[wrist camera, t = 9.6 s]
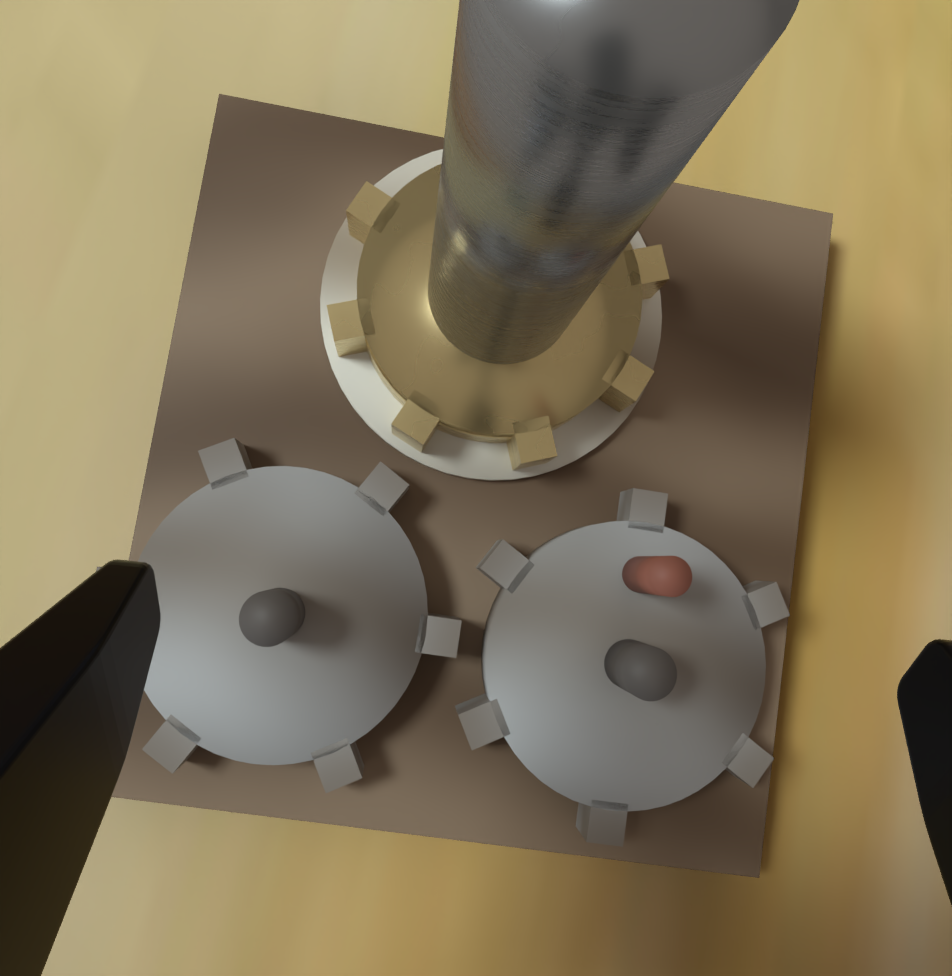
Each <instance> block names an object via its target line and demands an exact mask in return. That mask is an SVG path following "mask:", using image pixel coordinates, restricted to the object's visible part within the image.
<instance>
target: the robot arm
mask: <svg viewBox="0 0 952 976" xmlns="http://www.w3.org/2000/svg"><path fill="white" fill-rule="evenodd" d="M160 621H161V613H160V606H159V600H158V593H157V587H156V580H155V574H154V570H153V568H152V566H151V565H150V564H148V563H146V562H137V561H127V560H113V561H110V562H108V563H107V564H105V565H104V566H103V567H101V568H100V569H99V570H98V571H96V572H95V573H94V574H93V575H91V576H90V577H89V578H88V579H86V580H85V581H84V582H83V583H81V584H80V585H79V586H77V587H76V588H75V589H74V590H72V591H71V592H70V593H69V594H67V595H66V596H65V597H64V598H62V599H61V600H60V601H59V602H57V603H56V604H55V605H54V606H52V607H51V608H50V609H49V610H47V611H46V612H45V613H44V614H42V615H41V616H40V617H39V618H37V619H36V620H35V621H34V622H32V623H31V624H30V625H29V626H27V627H26V628H25V629H24V630H22V631H21V632H20V633H19V634H17V635H16V636H15V637H14V638H12V639H11V640H10V641H9V642H7V643H6V644H5V645H3V646H2V647H1V648H0V976H41V974H42V971H43V969H44V966H45V964H46V961H47V959H48V956H49V954H50V951H51V949H52V946H53V944H54V941H55V938H56V936H57V933H58V931H59V928H60V926H61V923H62V921H63V918H64V916H65V913H66V910H67V908H68V905H69V903H70V900H71V898H72V895H73V893H74V890H75V888H76V885H77V883H78V880H79V877H80V875H81V872H82V870H83V867H84V865H85V862H86V860H87V857H88V855H89V852H90V849H91V847H92V844H93V842H94V839H95V837H96V834H97V832H98V829H99V827H100V824H101V822H102V819H103V816H104V814H105V811H106V809H107V806H108V804H109V801H110V799H111V796H112V794H113V791H114V789H115V786H116V783H117V781H118V778H119V775H120V773H121V770H122V767H123V764H124V761H125V758H126V755H127V751H128V748H129V744H130V741H131V737H132V733H133V729H134V726H135V722H136V718H137V714H138V710H139V707H140V703H141V699H142V695H143V691H144V688H145V684H146V680H147V676H148V672H149V669H150V665H151V661H152V657H153V653H154V650H155V646H156V642H157V638H158V634H159V629H160ZM897 699H898V705H899V710H900V714H901V719H902V723H903V728H904V733H905V737H906V742H907V746H908V751H909V756H910V760H911V765H912V769H913V774H914V778H915V783H916V788H917V792H918V797H919V801H920V805H921V809H922V813H923V817H924V821H925V825H926V828H927V831H928V835H929V838H930V841H931V844H932V847H933V850H934V853H935V856H936V859H937V863H938V866H939V869H940V872H941V875H942V878H943V881H944V884H945V887H946V890H947V893H948V896H949V899H950V902H951V905H952V641H951V640H941V639H938V640H934V641H932V642H930V643H928V644H927V645H926V646H925V648H924V649H923V650H922V652H921V653H920V654H919V656H918V657H917V658H916V660H915V661H914V662H913V664H912V665H911V666H910V668H909V669H908V670H907V672H906V673H905V674H904V676H903V677H902V679H901V680H900V683H899V685H898V691H897Z"/></svg>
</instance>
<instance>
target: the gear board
mask: <svg viewBox="0 0 952 976" xmlns="http://www.w3.org/2000/svg"><path fill="white" fill-rule="evenodd" d="M443 145H444V138H443V137H438V136H433V135H427V134H422V133H417V132H412V131H407V130H402V129H397V128H392V127H386V126H381V125H376V124H371V123H366V122H361V121H356V120H351V119H345V118H340V117H335V116H330V115H325V114H320V113H315V112H310V111H304V110H299V109H294V108H289V107H284V106H279V105H274V104H269V103H263V102H258V101H253V100H248V99H243V98H238V97H233V96H228V95H222V94H219V98H218V103H217V108H216V113H215V118H214V123H213V129H212V134H211V139H210V144H209V149H208V154H207V160H206V165H205V170H204V175H203V180H202V185H201V191H200V196H199V201H198V206H197V211H196V216H195V221H194V227H193V232H192V237H191V242H190V247H189V252H188V258H187V263H186V268H185V273H184V278H183V283H182V289H181V294H180V299H179V304H178V309H177V314H176V319H175V325H174V330H173V335H172V340H171V345H170V350H169V356H168V361H167V366H166V371H165V376H164V381H163V387H162V392H161V397H160V402H159V407H158V412H157V417H156V423H155V428H154V433H153V438H152V443H151V448H150V454H149V459H148V464H147V469H146V474H145V479H144V484H143V490H142V495H141V500H140V505H139V510H138V515H137V521H136V526H135V531H134V536H133V541H132V546H131V552H130V557H129V561H137V562H146V563H148V564H150V565H151V566H152V568H153V570H154V574H155V580H156V587H157V593H158V600H159V606H160V613H161V621H160V629H159V634H158V638H157V642H156V646H155V650H154V653H153V657H152V661H151V665H150V669H149V672H148V676H147V680H146V684H145V688H144V691H143V695H142V699H141V703H140V707H139V710H138V714H137V718H136V722H135V726H134V729H133V733H132V737H131V741H130V744H129V748H128V751H127V755H126V758H125V761H124V764H123V767H122V770H121V773H120V775H119V778H118V781H117V783H116V786H115V789H114V791H113V794H112V796H111V797H116V798H124V799H132V800H140V801H148V802H156V803H164V804H172V805H180V806H188V807H196V808H204V809H212V810H220V811H228V812H236V813H244V814H252V815H260V816H268V817H276V818H284V819H292V820H300V821H308V822H316V823H324V824H332V825H340V826H348V827H356V828H364V829H372V830H380V831H388V832H396V833H404V834H412V835H420V836H428V837H436V838H444V839H452V840H460V841H468V842H476V843H484V844H493V845H501V846H509V847H517V848H525V849H533V850H541V851H549V852H557V853H565V854H573V855H581V856H589V857H597V858H605V859H613V860H621V861H629V862H637V863H645V864H653V865H661V866H669V867H677V868H685V869H693V870H701V871H709V872H717V873H725V874H733V875H741V876H749V877H757V878H759V875H760V866H761V857H762V848H763V839H764V830H765V821H766V812H767V803H768V794H769V785H770V776H771V767H772V761H773V759H774V758H773V749H774V740H775V731H776V722H777V713H778V704H779V695H780V686H781V677H782V668H783V659H784V650H785V641H786V632H787V623H788V616H790V614H789V605H790V596H791V587H792V578H793V569H794V560H795V551H796V542H797V533H798V524H799V515H800V506H801V497H802V488H803V479H804V470H805V461H806V452H807V443H808V434H809V425H810V416H811V407H812V398H813V389H814V380H815V371H816V362H817V353H818V344H819V335H820V326H821V317H822V308H823V299H824V290H825V282H826V273H827V264H828V255H829V246H830V237H831V228H832V219H833V214H832V213H827V212H822V211H817V210H812V209H807V208H801V207H796V206H791V205H786V204H781V203H776V202H771V201H766V200H760V199H755V198H750V197H745V196H740V195H735V194H730V193H725V192H719V191H714V190H709V189H704V188H699V187H694V186H689V185H684V184H678V183H672V185H671V186H670V187H669V189H668V190H667V192H666V193H665V194H664V196H663V197H662V198H661V200H660V201H659V202H658V204H657V205H656V207H655V208H654V209H653V211H652V212H651V213H650V215H649V216H648V218H647V219H646V220H645V222H644V223H643V224H642V226H641V227H640V228H639V230H638V231H637V233H636V234H635V235H634V237H633V238H632V239H631V241H630V243H631V245H632V248H633V249H638V248H643V247H649V246H654V245H660V244H661V245H662V249H663V254H664V258H665V262H666V266H667V270H668V275H669V280H668V281H667V282H666V283H665V284H664V285H663V286H662V287H661V288H660V289H659V290H658V291H657V292H656V293H655V294H654V295H653V296H652V297H651V298H648V299H643V300H642V310H641V320H640V325H639V329H638V333H637V338H636V340H635V343H634V346H633V348H632V351H631V354H630V355H631V356H632V357H634V358H635V359H637V360H638V361H640V362H641V363H643V364H644V365H646V366H647V367H649V368H650V369H652V370H653V371H655V372H654V373H653V375H652V376H651V378H650V380H649V381H648V383H647V384H646V386H645V388H644V389H643V391H642V392H641V394H640V396H639V397H638V399H637V400H636V402H634V403H633V404H631V405H630V406H628V407H627V408H625V409H624V410H622V411H621V412H618V411H617V410H615V409H613V408H612V407H610V406H609V405H607V404H606V403H604V402H603V401H601V400H600V399H597V400H596V401H594V402H593V403H592V404H591V405H589V406H588V407H587V408H586V409H584V410H583V411H582V412H581V413H579V414H578V415H577V416H576V417H574V418H573V419H572V420H570V421H569V422H567V423H565V424H564V425H562V426H560V427H559V428H557V429H555V430H552V434H553V438H554V443H555V447H556V452H557V457H555V458H554V459H552V460H551V461H549V462H547V463H545V464H540V465H536V466H531V467H526V468H521V469H517V470H512V465H511V461H510V456H509V452H508V447H507V443H487V442H479V441H471V440H467V439H463V438H459V437H455V436H452V435H450V434H447V433H445V432H442V431H440V430H436V431H435V433H434V434H433V436H432V437H431V439H430V440H429V442H428V444H427V445H426V447H425V448H424V450H423V451H422V453H421V452H419V451H418V450H416V449H415V448H413V447H412V446H410V445H409V444H407V443H405V442H404V441H402V440H401V439H399V438H398V437H396V436H395V435H393V434H392V429H391V424H392V422H393V421H394V419H395V418H396V416H397V415H398V413H399V412H400V410H401V409H402V407H403V405H402V404H401V403H400V402H399V401H398V400H396V399H395V398H394V396H393V395H392V394H391V393H390V391H389V390H388V389H387V388H386V386H385V385H384V384H383V382H382V381H381V379H380V377H379V376H378V374H377V372H376V370H375V369H374V367H373V364H372V362H371V360H370V358H369V355H368V353H367V352H362V353H357V354H352V355H346V356H341V357H338V353H337V350H336V346H335V343H334V339H333V334H332V329H331V324H330V320H329V315H328V310H327V305H329V304H335V303H340V302H346V301H351V300H357V275H358V267H359V261H360V257H361V254H362V250H363V246H364V244H363V243H361V242H360V241H358V240H356V239H355V238H353V237H352V236H350V235H349V228H348V222H347V215H346V209H347V208H348V207H349V205H350V204H351V202H352V201H353V199H354V198H355V197H356V195H357V194H358V192H359V191H360V190H361V188H362V187H363V185H364V184H365V182H366V181H367V182H369V183H370V184H372V185H373V186H375V187H376V188H378V189H380V190H381V191H383V192H384V193H386V194H387V195H389V196H390V197H393V196H394V195H395V194H396V193H397V192H398V191H399V190H400V189H402V188H403V187H404V186H405V185H406V184H407V183H409V182H410V181H411V180H413V179H414V178H416V177H417V176H418V175H420V174H422V173H423V172H425V171H427V170H429V169H431V168H433V167H435V166H437V165H439V164H441V163H442V154H443ZM100 568H101V567H97V570H96V571H98V570H99V569H100Z"/></svg>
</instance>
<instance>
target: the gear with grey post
mask: <svg viewBox="0 0 952 976" xmlns="http://www.w3.org/2000/svg"><path fill="white" fill-rule="evenodd" d="M798 2H799V0H460V2H459V11H458V20H457V29H456V38H455V47H454V56H453V65H452V74H451V83H450V91H449V100H448V109H447V118H446V127H445V136H444V145H443V154H442V163H441V164H439V165H437V166H435V167H433V168H431V169H429V170H427V171H425V172H423V173H422V174H420V175H418V176H417V177H416V178H414V179H413V180H411V181H410V182H409V183H407V184H406V185H405V186H404V187H403V188H402V189H400V190H399V191H398V192H397V193H396V194H395V195H394V196H393V197H390V196H389V195H387V194H386V193H384V192H383V191H381V190H380V189H378V188H376V187H375V186H373V185H372V184H370V183H369V182H367V181H366V182H365V184H364V185H363V187H362V188H361V190H360V191H359V192H358V194H357V195H356V197H355V198H354V199H353V201H352V202H351V204H350V205H349V207H348V208H347V209H346V215H347V222H348V228H349V235H350V236H352V237H353V238H355V239H356V240H358V241H360V242H361V243H363V244H364V246H363V250H362V254H361V257H360V261H359V267H358V275H357V300H351V301H346V302H340V303H335V304H329V305H327V310H328V315H329V320H330V324H331V329H332V334H333V339H334V343H335V346H336V350H337V353H338V357H341V356H346V355H352V354H357V353H362V352H367V353H368V355H369V358H370V360H371V362H372V364H373V367H374V369H375V370H376V372H377V374H378V376H379V377H380V379H381V381H382V382H383V384H384V385H385V386H386V388H387V389H388V390H389V391H390V393H391V394H392V395H393V396H394V398H395V399H396V400H398V401H399V402H400V403H401V404H402V405H403V407H402V409H401V410H400V412H399V413H398V415H397V416H396V418H395V419H394V421H393V422H392V424H391V429H392V434H393V435H395V436H396V437H398V438H399V439H401V440H402V441H404V442H405V443H407V444H409V445H410V446H412V447H413V448H415V449H416V450H418V451H419V452H421V453H422V451H423V450H424V448H425V447H426V445H427V444H428V442H429V440H430V439H431V437H432V436H433V434H434V433H435V431H436V430H440V431H442V432H445V433H447V434H450V435H452V436H455V437H459V438H463V439H467V440H471V441H479V442H487V443H507V447H508V452H509V456H510V461H511V465H512V470H517V469H521V468H526V467H531V466H536V465H540V464H545V463H547V462H549V461H551V460H552V459H554V458H555V457H557V452H556V447H555V443H554V438H553V434H552V430H555V429H557V428H559V427H560V426H562V425H564V424H565V423H567V422H569V421H570V420H572V419H573V418H574V417H576V416H577V415H578V414H579V413H581V412H582V411H583V410H584V409H586V408H587V407H588V406H589V405H591V404H592V403H593V402H594V401H596V400H597V399H600V400H601V401H603V402H604V403H606V404H607V405H609V406H610V407H612V408H613V409H615V410H617V411H618V412H621V411H622V410H624V409H625V408H627V407H628V406H630V405H631V404H633V403H634V402H636V400H637V399H638V397H639V396H640V394H641V392H642V391H643V389H644V388H645V386H646V384H647V383H648V381H649V380H650V378H651V376H652V375H653V373H654V372H655V371H653V370H652V369H650V368H649V367H647V366H646V365H644V364H643V363H641V362H640V361H638V360H637V359H635V358H634V357H632V356H631V355H630V354H631V351H632V348H633V346H634V343H635V340H636V338H637V333H638V329H639V325H640V320H641V310H642V300H643V299H648V298H651V297H652V296H653V295H654V294H655V293H656V292H657V291H658V290H659V289H660V288H661V287H662V286H663V285H664V284H665V283H666V282H667V281H668V280H669V275H668V270H667V266H666V262H665V258H664V254H663V249H662V245H661V244H660V245H654V246H649V247H643V248H638V249H633V248H632V245H631V243H630V241H631V239H632V238H633V237H634V235H635V234H636V233H637V231H638V230H639V228H640V227H641V226H642V224H643V223H644V222H645V220H646V219H647V218H648V216H649V215H650V213H651V212H652V211H653V209H654V208H655V207H656V205H657V204H658V202H659V201H660V200H661V198H662V197H663V196H664V194H665V193H666V192H667V190H668V189H669V187H670V186H671V185H672V183H673V182H674V181H675V179H676V178H677V177H678V175H679V174H680V172H681V171H682V170H683V168H684V167H685V166H686V164H687V163H688V161H689V160H690V159H691V157H692V156H693V155H694V153H695V152H696V151H697V149H698V148H699V146H700V145H701V144H702V142H703V141H704V140H705V138H706V137H707V135H708V134H709V133H710V131H711V130H712V129H713V127H714V126H715V125H716V123H717V122H718V120H719V119H720V118H721V116H722V115H723V114H724V112H725V111H726V109H727V108H728V107H729V105H730V104H731V103H732V101H733V100H734V99H735V97H736V96H737V94H738V93H739V92H740V90H741V89H742V88H743V86H744V85H745V83H746V82H747V81H748V79H749V78H750V77H751V75H752V74H753V73H754V71H755V70H756V68H757V67H758V66H759V64H760V63H761V62H762V60H763V59H764V58H765V56H766V55H767V53H768V52H769V51H770V49H771V48H772V47H773V45H774V44H775V42H776V41H777V40H778V38H779V37H780V36H781V34H782V33H783V32H784V30H785V29H786V27H787V25H788V23H789V21H790V20H791V18H792V16H793V14H794V12H795V10H796V7H797V5H798Z"/></svg>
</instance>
